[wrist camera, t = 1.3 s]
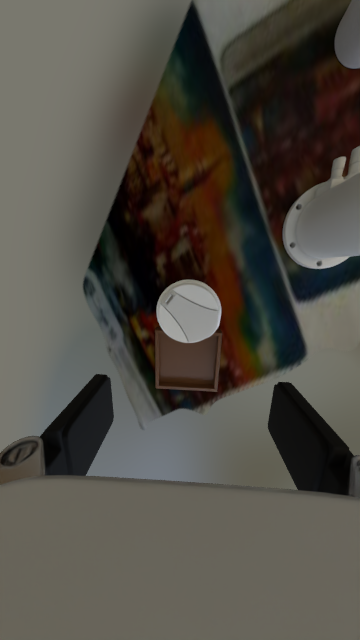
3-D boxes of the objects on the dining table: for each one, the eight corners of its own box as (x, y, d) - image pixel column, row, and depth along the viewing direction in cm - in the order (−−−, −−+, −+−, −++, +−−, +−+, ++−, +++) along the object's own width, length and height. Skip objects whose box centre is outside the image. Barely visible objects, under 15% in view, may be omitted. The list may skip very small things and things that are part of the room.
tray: (156, 327, 36) (154, 330, 34) (220, 329, 36) (222, 333, 34) (157, 382, 39) (155, 388, 38) (215, 385, 39) (216, 391, 37)
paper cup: (160, 300, 35) (140, 318, 21) (186, 267, 33) (184, 264, 20) (192, 326, 36) (192, 360, 22) (219, 295, 34) (238, 312, 21)
